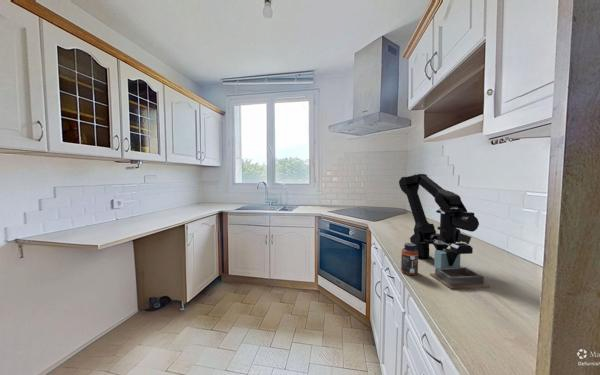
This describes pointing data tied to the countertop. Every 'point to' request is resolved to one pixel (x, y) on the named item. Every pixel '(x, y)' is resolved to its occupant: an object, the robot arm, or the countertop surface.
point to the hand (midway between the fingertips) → (447, 263)
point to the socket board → (459, 278)
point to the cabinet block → (444, 260)
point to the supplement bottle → (409, 259)
